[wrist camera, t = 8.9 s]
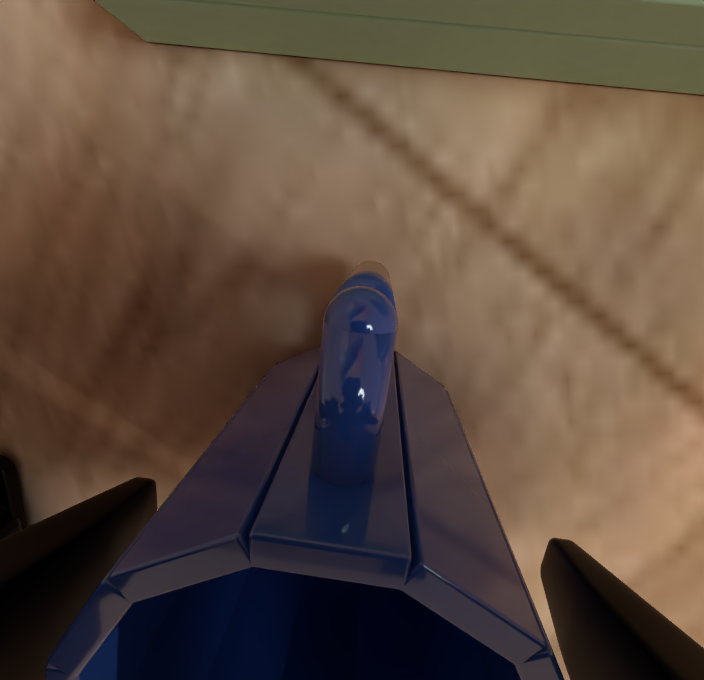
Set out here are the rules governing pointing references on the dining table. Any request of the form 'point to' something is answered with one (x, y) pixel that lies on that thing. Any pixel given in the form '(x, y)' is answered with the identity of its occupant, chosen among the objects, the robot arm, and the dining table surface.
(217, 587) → the mug
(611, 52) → the shelf
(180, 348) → the dining table surface
